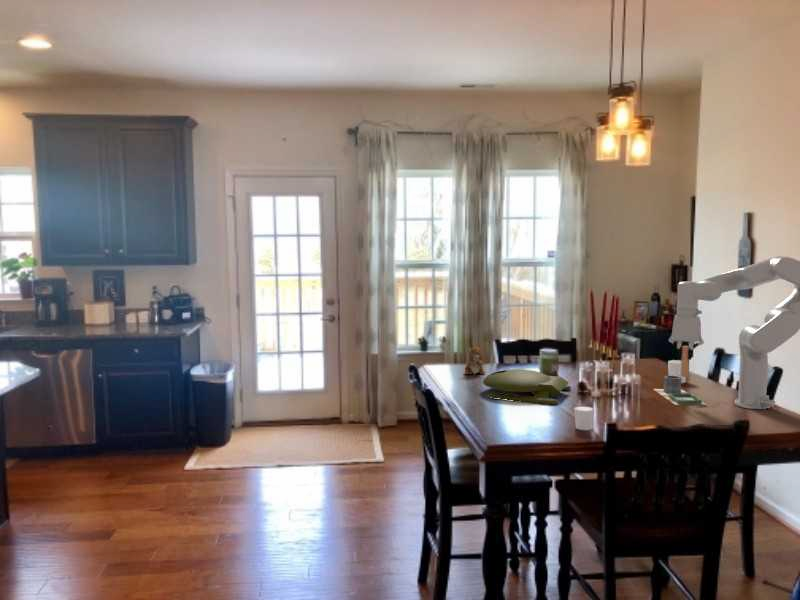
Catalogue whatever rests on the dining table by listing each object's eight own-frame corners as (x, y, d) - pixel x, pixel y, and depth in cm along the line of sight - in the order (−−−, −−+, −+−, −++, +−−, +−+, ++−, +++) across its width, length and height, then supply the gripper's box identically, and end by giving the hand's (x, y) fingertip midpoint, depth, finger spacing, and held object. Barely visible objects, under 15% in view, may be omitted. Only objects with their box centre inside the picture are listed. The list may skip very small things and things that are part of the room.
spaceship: (572, 390, 280) (572, 368, 279) (556, 407, 253) (556, 382, 252) (495, 383, 296) (495, 362, 295) (473, 398, 268) (473, 375, 267)
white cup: (683, 381, 291) (683, 360, 290) (689, 385, 283) (689, 363, 282) (665, 381, 292) (665, 360, 291) (670, 385, 284) (671, 363, 283)
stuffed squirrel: (465, 376, 310) (465, 349, 309) (463, 370, 324) (463, 344, 323) (485, 375, 310) (485, 349, 308) (482, 369, 324) (482, 344, 322)
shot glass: (575, 430, 221) (575, 410, 220) (572, 424, 228) (573, 405, 227) (595, 431, 220) (595, 411, 219) (592, 425, 227) (592, 406, 226)
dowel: (690, 376, 253) (691, 346, 252) (685, 377, 252) (686, 347, 250) (684, 375, 255) (685, 345, 254) (679, 375, 254) (680, 346, 253)
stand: (706, 407, 248) (707, 388, 247) (675, 407, 248) (675, 388, 248) (681, 391, 273) (681, 374, 273) (652, 391, 274) (653, 374, 273)
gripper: (711, 313, 250) (709, 359, 251) (667, 310, 258) (665, 355, 260) (708, 315, 243) (706, 362, 245) (663, 312, 252) (661, 358, 254)
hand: (685, 358), depth 253 cm, fingers closed on dowel, 2 cm apart
